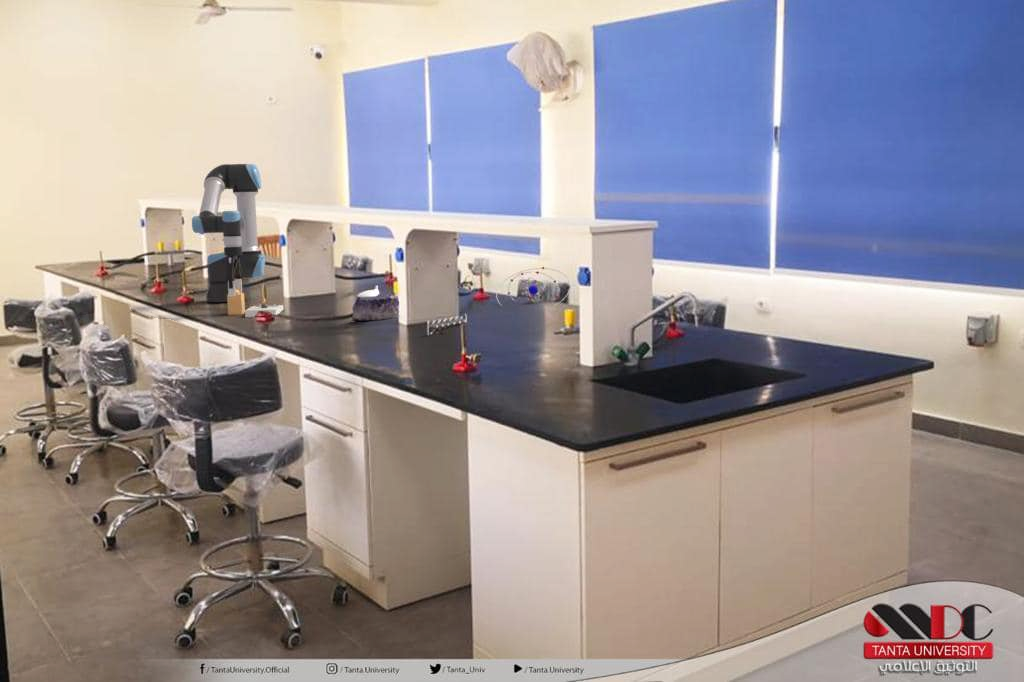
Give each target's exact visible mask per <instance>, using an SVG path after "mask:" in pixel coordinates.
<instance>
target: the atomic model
mask: <svg viewBox="0 0 1024 682" xmlns="http://www.w3.org/2000/svg"><path fill="white" fill-rule="evenodd" d="M540 269H541V270H550V271H551V270H552V271H555V272H558V273H560V274H561V275H563V276H565V278H566V279H567V281H568V283H569V284H571V281H570V279H569V277H568V276H566V274H564V273H563V272H561V271H559V270H557V269H556V270H555V269H553V268H546V267H544V266H542V267H536V268H535V267H534V268H533V270H540ZM529 270H530V271H531V270H532V268H529V269H525V270H521V271H519V272H516V273H514V274H512V275H510V276H509V277H507V278H506V279H505V280H504V281H502V282H501V283H500V285H499V286H498V288H497V290H496V294H495V295H496V296H495V297H496V301H497V302H498V304H499V305H500V306H501V307H502V306H503V304H501V302H500V301H499V299H498V291H499V288H500V287H501V286H502V284H503V283H504V282H505V281H507V280H509V279H510V278H511V277H513V276H514V275H515V277H513V278H511V279H510V281H509V283H508V287H507V288H508V289H507V290H508V292H507V295H508V296H509V297H510V298H511V299H512V300H513V301H514V302H516V300H514V298H513V297H512V295H511V292H510V284H511V283H512V282H514V279H516V277H519V276H523V275H524V274H527V273H530V271H529ZM535 273H536V275H537V274H542V275H545V276H547V277H548V278H550V279H552V280H553V283H554V284H555V285H556V286H557V287H556V288H557V289H559V286H558V283H557V281H556V279H554V278H552V277H551V276H550V275H548V274H546V273H543V272H539V271H535ZM530 279H532V280H533V281H534V283H535V284H536V285H531V286H528V285H529V281H530ZM526 283H527V284H526V285H527V286H526V287H527V293H528V295H529V299H530V300H531V301H532V302H533V303H537V302H539V300H540V297H538V298H537V301H534V300H533V297H532V296H531V295H536V294H537V293H539V292H540V289H539V286H538V283H537V280H536V279H534V277H529V278H528V279H527V282H526ZM570 290H571V288H569V289H568V292H567V294H566V295H565V297H564V298H563V299H561V300H560V301H559V302H557V303H556V304H554V305H553V306H554V307H555V306H557V305H559V304H560V303H562V302H563V301H564V299H565V298H567V296H568V295H569V293H570ZM530 294H531V295H530ZM558 295H559V292H557V293H556V295H555V296H554V298H553V301H555V300H556V299H558Z"/></svg>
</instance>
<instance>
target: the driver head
mask: <svg viewBox="0 0 1024 682" xmlns="http://www.w3.org/2000/svg"><path fill="white" fill-rule="evenodd" d="M374 287H375V288H374V289H369V290H364V291H362V292H360V293H358V294H357V295H356V298H358V297H360V298H372V297H377V296H378V295H380V291H379V286H378V285H375V286H374Z"/></svg>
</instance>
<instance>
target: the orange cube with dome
mask: <svg viewBox="0 0 1024 682" xmlns="http://www.w3.org/2000/svg"><path fill="white" fill-rule="evenodd" d="M227 301H228V302H227V315H228V316H236V315H237V316H238V315H244V314H245V310H246V305H245V304H246V303H245V293H244V292H242V293H240V292H239V291H238V290H237V289H235V296H229V294H228V295H227Z"/></svg>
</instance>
